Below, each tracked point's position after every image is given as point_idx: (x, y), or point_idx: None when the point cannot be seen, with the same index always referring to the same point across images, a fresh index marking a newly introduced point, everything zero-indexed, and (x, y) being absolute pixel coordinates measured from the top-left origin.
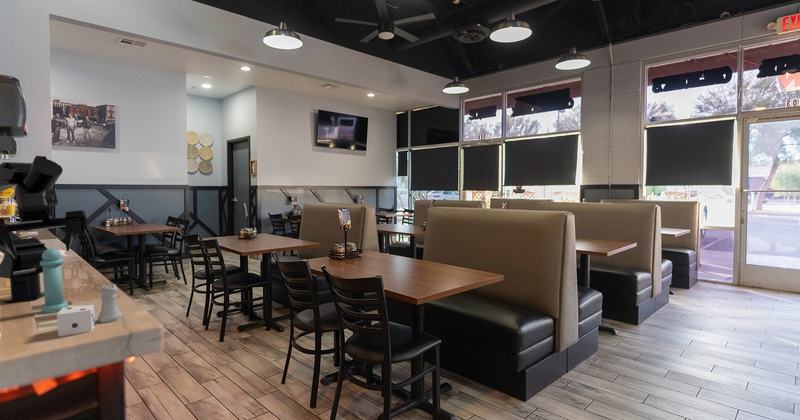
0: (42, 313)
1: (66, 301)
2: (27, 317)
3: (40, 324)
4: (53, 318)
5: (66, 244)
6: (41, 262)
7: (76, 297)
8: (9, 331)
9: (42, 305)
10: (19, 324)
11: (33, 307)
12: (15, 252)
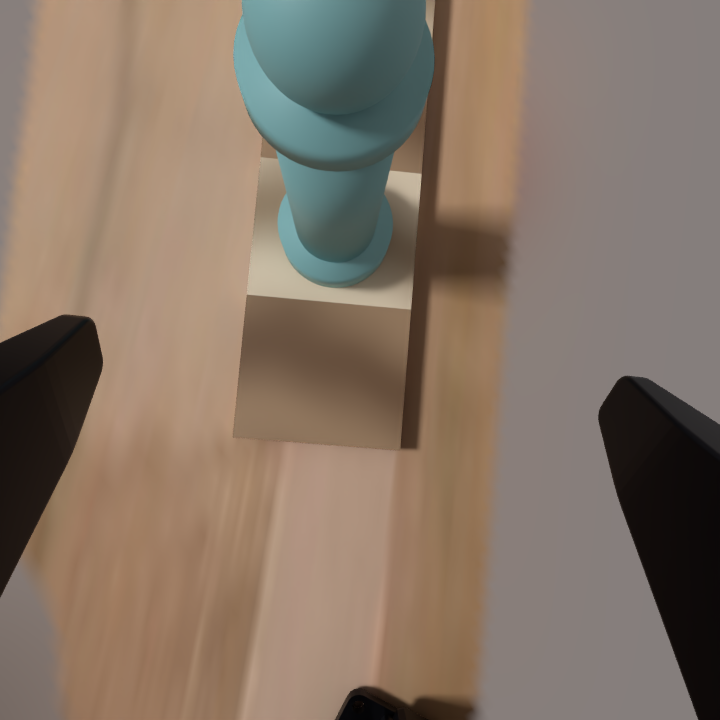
0: None
1: (279, 233)
2: (434, 284)
3: None
4: None
5: (50, 341)
6: (425, 25)
7: (179, 571)
8: (512, 87)
9: (385, 236)
10: (473, 175)
11: (399, 401)
12: (658, 400)
